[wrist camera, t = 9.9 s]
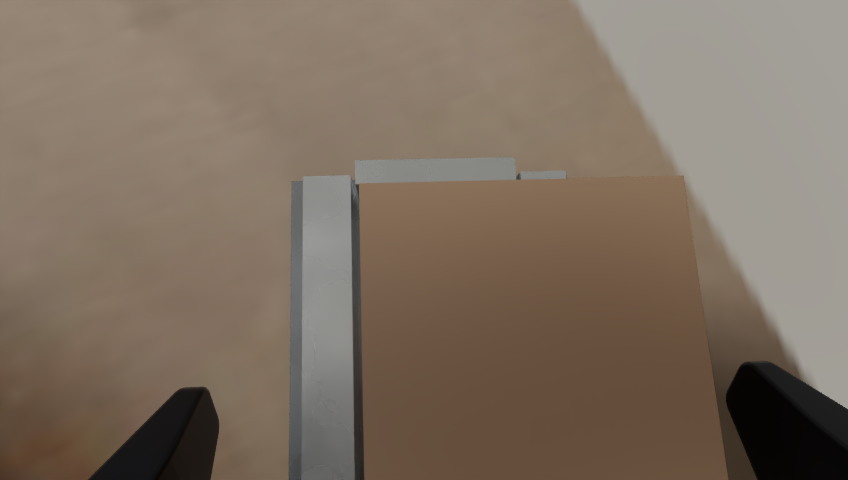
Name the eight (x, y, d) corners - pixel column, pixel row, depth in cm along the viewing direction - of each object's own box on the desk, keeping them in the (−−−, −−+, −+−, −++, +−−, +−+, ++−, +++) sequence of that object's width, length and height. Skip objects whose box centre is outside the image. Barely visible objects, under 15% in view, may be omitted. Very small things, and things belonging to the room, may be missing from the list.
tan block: (496, 474, 17) (783, 846, 4) (389, 480, 16) (371, 890, 4) (484, 290, 18) (683, 175, 6) (384, 294, 18) (358, 182, 5)
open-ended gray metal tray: (601, 590, 17) (638, 634, 14) (291, 612, 16) (271, 664, 13) (561, 180, 19) (586, 155, 17) (295, 186, 19) (278, 161, 16)
